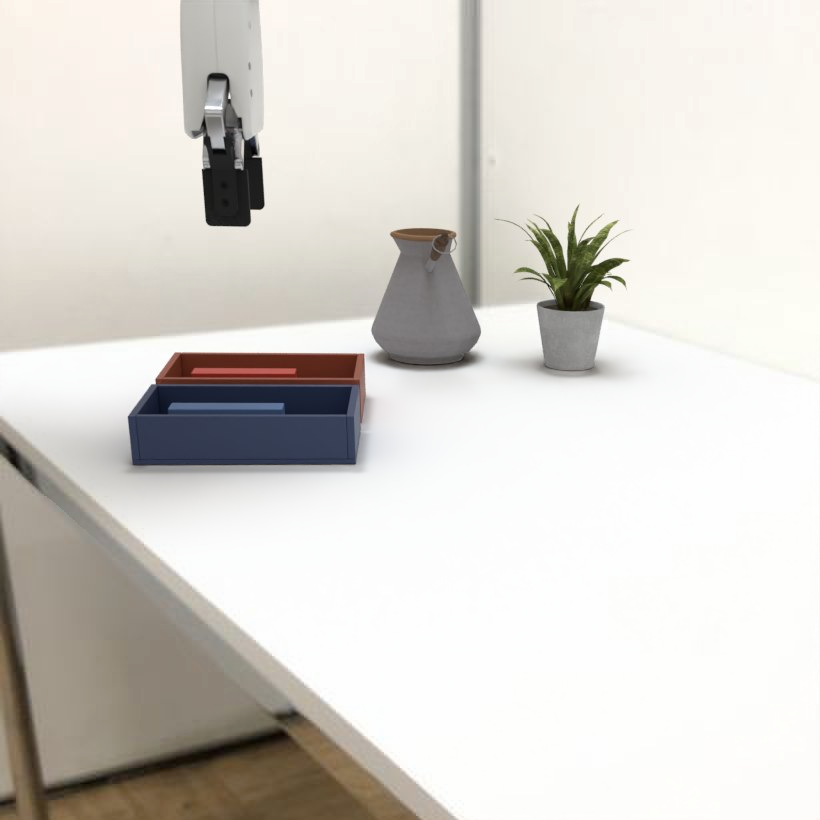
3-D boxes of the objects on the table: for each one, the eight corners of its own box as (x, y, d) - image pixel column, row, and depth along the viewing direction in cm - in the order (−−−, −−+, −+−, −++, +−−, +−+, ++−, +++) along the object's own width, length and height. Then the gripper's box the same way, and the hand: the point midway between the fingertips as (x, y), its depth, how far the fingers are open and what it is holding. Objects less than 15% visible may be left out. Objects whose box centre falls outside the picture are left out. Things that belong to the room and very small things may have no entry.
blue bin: (132, 464, 106) (127, 416, 104) (155, 429, 115) (151, 383, 114) (355, 464, 108) (354, 416, 107) (360, 428, 117) (359, 384, 116)
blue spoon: (168, 449, 109) (164, 412, 108) (177, 434, 113) (173, 398, 112) (338, 448, 110) (336, 412, 109) (341, 433, 114) (339, 399, 113)
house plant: (493, 381, 134) (493, 211, 128) (486, 350, 147) (486, 194, 141) (635, 382, 136) (643, 214, 130) (616, 351, 149) (622, 197, 143)
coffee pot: (367, 345, 147) (362, 202, 142) (472, 343, 150) (472, 203, 144) (386, 395, 128) (381, 232, 123) (506, 392, 131) (507, 232, 125)
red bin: (159, 423, 117) (154, 378, 115) (178, 393, 126) (174, 352, 125) (361, 423, 119) (360, 379, 118) (365, 394, 128) (364, 353, 127)
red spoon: (191, 409, 120) (188, 376, 119) (198, 397, 124) (196, 364, 123) (345, 409, 122) (344, 376, 120) (347, 397, 126) (346, 365, 124)
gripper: (185, -26, 105) (203, 202, 112) (144, -34, 90) (167, 232, 96) (284, -22, 106) (295, 204, 113) (260, -29, 91) (275, 234, 97)
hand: (236, 217), depth 105 cm, fingers open, 9 cm apart
